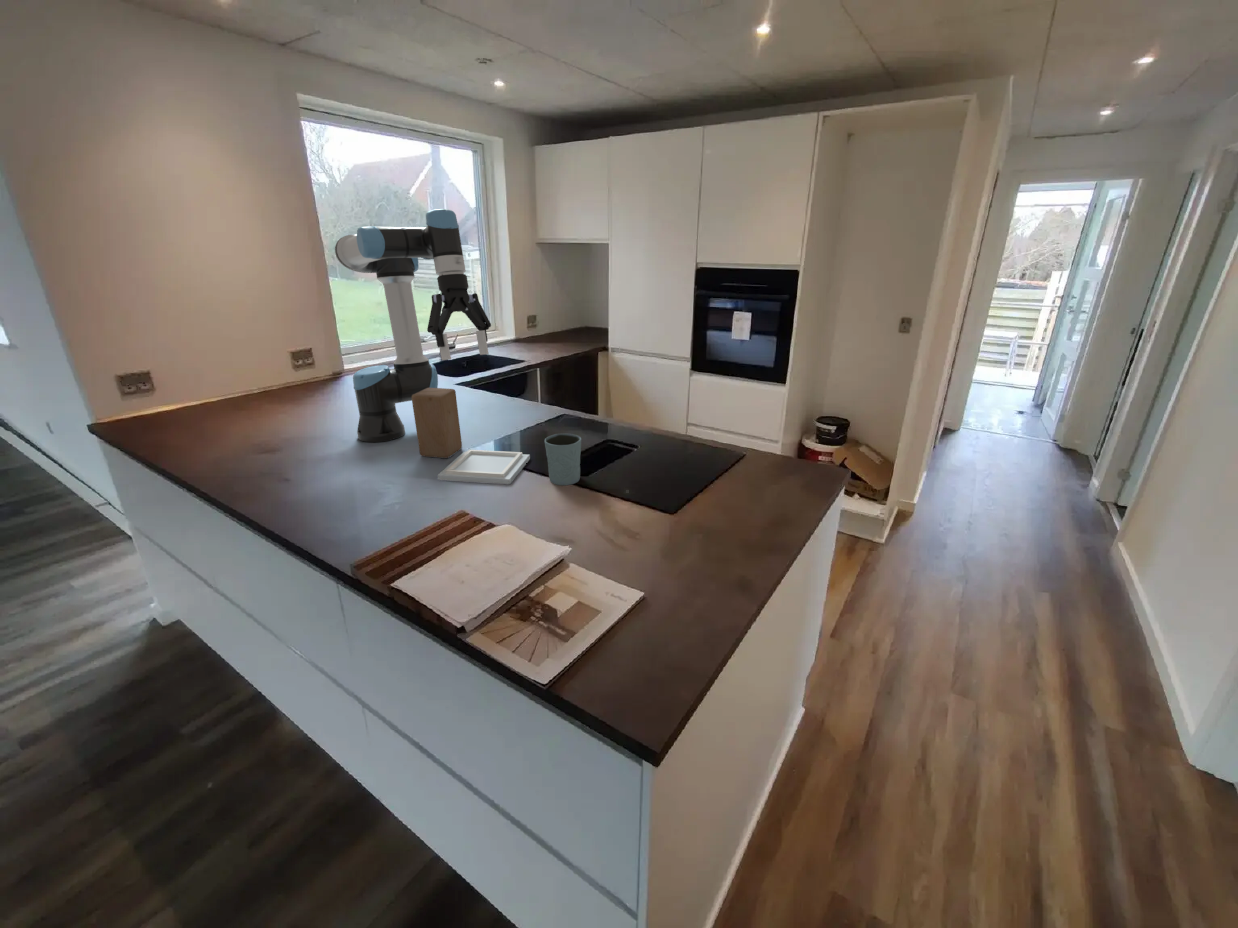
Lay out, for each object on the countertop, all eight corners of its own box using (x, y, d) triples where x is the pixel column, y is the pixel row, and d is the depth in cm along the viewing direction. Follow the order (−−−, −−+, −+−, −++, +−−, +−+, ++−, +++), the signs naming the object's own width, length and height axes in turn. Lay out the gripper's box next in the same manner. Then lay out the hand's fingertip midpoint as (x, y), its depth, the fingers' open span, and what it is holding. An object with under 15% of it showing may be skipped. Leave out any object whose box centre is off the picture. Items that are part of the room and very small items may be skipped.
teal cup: (554, 489, 147) (552, 447, 142) (541, 475, 155) (539, 436, 151) (588, 481, 151) (587, 441, 147) (574, 469, 159) (572, 430, 155)
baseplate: (465, 455, 170) (464, 448, 169) (530, 459, 167) (529, 451, 166) (438, 480, 152) (437, 471, 152) (509, 484, 150) (509, 476, 149)
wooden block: (448, 459, 167) (440, 396, 159) (419, 457, 169) (409, 394, 161) (463, 448, 176) (456, 388, 168) (435, 446, 178) (427, 386, 170)
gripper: (421, 271, 129) (438, 361, 134) (495, 273, 149) (508, 351, 155) (401, 276, 133) (419, 363, 138) (476, 277, 153) (489, 353, 159)
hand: (466, 357), depth 146 cm, fingers open, 13 cm apart
